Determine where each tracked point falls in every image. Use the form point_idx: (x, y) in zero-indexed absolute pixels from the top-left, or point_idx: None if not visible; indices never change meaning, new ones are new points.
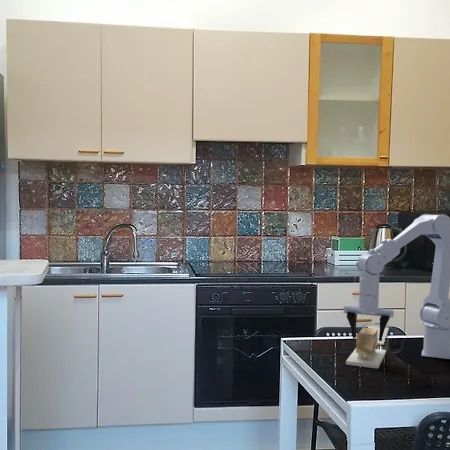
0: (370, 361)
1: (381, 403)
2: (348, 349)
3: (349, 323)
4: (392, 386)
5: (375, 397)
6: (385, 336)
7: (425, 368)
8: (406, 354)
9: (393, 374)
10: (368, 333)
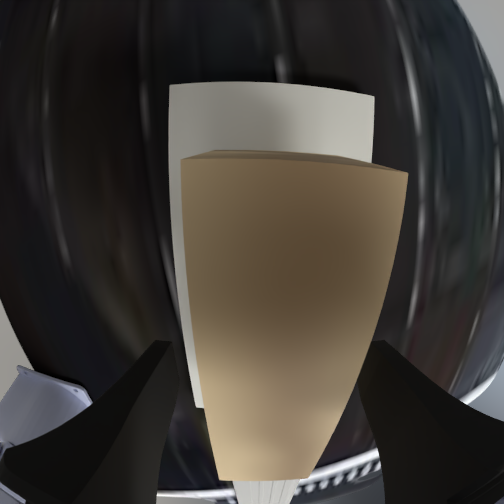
0: (226, 149)
1: None
2: None
3: (473, 409)
4: None
5: None
6: (235, 490)
7: (14, 229)
8: None
9: (100, 35)
10: (263, 372)
